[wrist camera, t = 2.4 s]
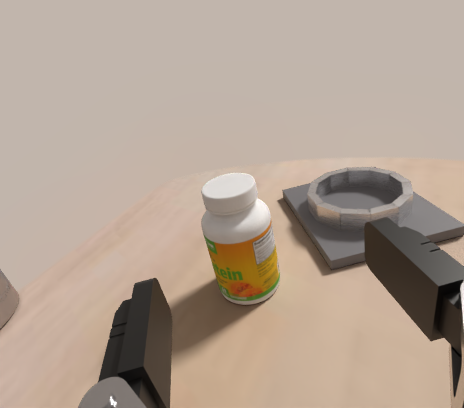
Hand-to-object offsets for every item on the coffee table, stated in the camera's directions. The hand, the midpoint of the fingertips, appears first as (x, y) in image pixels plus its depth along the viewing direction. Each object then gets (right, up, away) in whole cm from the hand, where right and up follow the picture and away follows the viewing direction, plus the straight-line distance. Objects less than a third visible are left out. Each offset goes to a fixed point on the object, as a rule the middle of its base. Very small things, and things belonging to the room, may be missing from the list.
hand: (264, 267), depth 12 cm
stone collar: (+12, +1, +21) cm, 24 cm away
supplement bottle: (0, -5, +16) cm, 16 cm away
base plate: (+12, +1, +21) cm, 24 cm away
